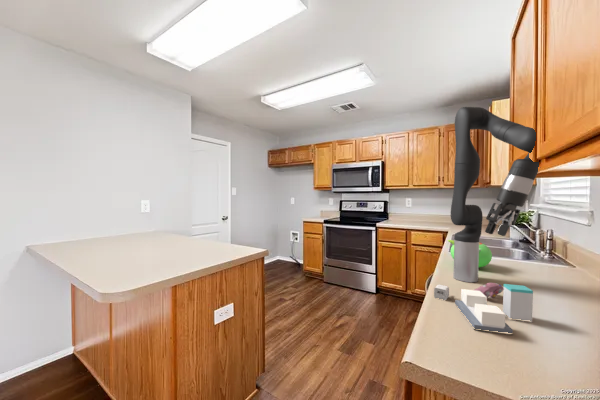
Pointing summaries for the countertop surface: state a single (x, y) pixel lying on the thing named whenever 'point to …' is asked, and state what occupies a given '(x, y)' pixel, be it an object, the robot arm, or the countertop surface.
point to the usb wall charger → (441, 292)
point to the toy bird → (484, 254)
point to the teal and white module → (518, 302)
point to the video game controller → (490, 289)
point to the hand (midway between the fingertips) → (494, 234)
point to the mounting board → (482, 312)
